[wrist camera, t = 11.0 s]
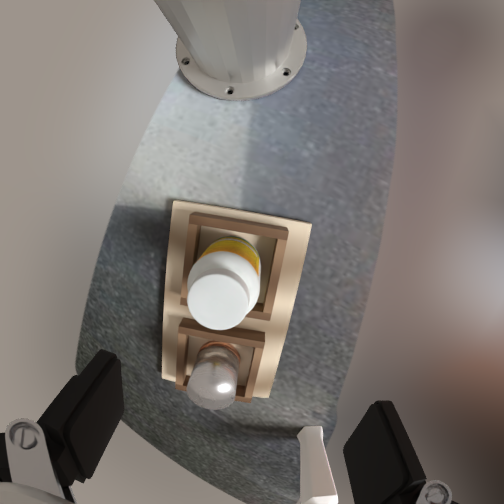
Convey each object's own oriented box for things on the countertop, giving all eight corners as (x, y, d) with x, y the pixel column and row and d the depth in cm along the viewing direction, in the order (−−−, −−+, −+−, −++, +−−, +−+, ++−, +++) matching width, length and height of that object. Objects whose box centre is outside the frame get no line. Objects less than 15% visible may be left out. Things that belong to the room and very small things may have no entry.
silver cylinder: (199, 336, 30) (187, 369, 24) (243, 344, 30) (239, 379, 24) (196, 369, 31) (185, 404, 25) (237, 377, 31) (232, 413, 25)
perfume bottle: (291, 427, 34) (299, 518, 20) (323, 420, 34) (340, 511, 20) (296, 444, 36) (303, 529, 21) (325, 439, 35) (341, 522, 21)
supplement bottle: (263, 286, 28) (263, 337, 19) (208, 290, 28) (185, 341, 19) (257, 230, 27) (254, 260, 18) (200, 237, 27) (169, 268, 18)
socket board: (176, 200, 27) (166, 202, 24) (310, 222, 27) (315, 228, 25) (164, 373, 33) (157, 388, 30) (268, 392, 33) (268, 409, 30)
